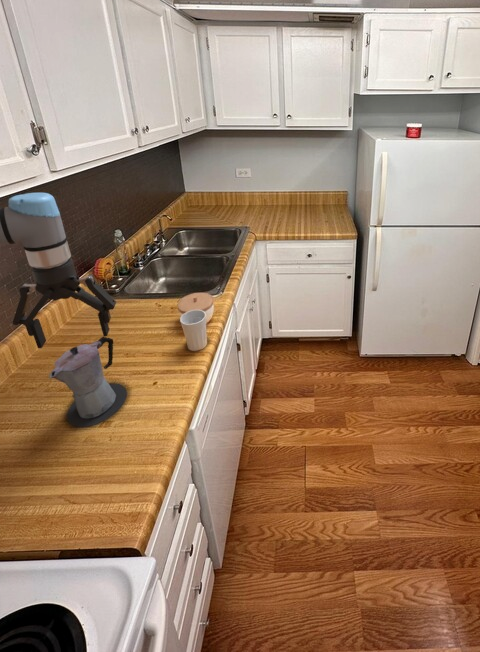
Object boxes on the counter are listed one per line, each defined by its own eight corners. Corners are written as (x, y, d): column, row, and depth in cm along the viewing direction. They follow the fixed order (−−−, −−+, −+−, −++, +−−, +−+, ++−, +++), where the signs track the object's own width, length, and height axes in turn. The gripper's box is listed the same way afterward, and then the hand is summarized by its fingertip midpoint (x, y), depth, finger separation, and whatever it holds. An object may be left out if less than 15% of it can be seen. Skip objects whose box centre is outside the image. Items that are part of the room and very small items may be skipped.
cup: (190, 337, 116) (186, 309, 112) (213, 338, 116) (209, 310, 112) (181, 354, 109) (175, 324, 105) (205, 354, 109) (200, 324, 104)
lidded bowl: (208, 308, 133) (205, 284, 129) (221, 323, 124) (218, 298, 120) (176, 320, 126) (171, 295, 122) (187, 337, 116) (183, 311, 112)
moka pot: (57, 421, 85) (33, 360, 78) (111, 377, 99) (94, 322, 91) (83, 434, 82) (60, 372, 75) (135, 387, 95) (120, 330, 88)
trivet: (59, 437, 82) (58, 434, 82) (76, 393, 95) (75, 390, 94) (122, 420, 87) (122, 417, 86) (131, 380, 99) (130, 377, 99)
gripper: (117, 248, 81) (133, 320, 89) (-9, 262, 74) (20, 339, 81) (111, 261, 75) (129, 337, 83) (-29, 278, 67) (5, 360, 75)
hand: (75, 338), depth 82 cm, fingers open, 13 cm apart
